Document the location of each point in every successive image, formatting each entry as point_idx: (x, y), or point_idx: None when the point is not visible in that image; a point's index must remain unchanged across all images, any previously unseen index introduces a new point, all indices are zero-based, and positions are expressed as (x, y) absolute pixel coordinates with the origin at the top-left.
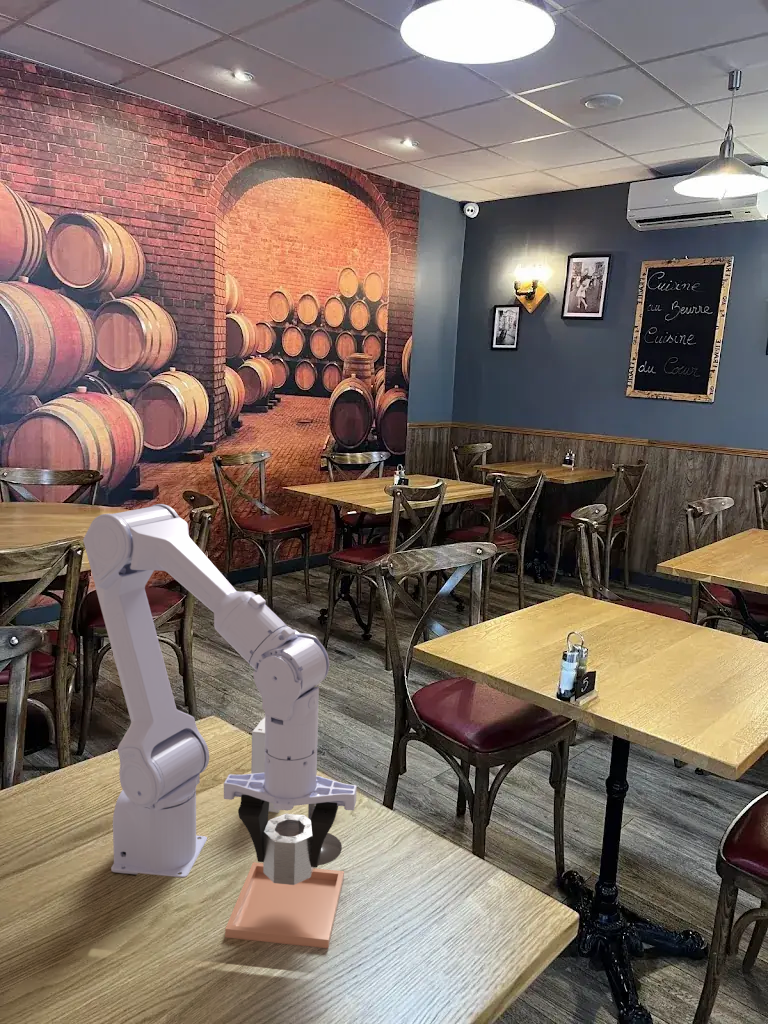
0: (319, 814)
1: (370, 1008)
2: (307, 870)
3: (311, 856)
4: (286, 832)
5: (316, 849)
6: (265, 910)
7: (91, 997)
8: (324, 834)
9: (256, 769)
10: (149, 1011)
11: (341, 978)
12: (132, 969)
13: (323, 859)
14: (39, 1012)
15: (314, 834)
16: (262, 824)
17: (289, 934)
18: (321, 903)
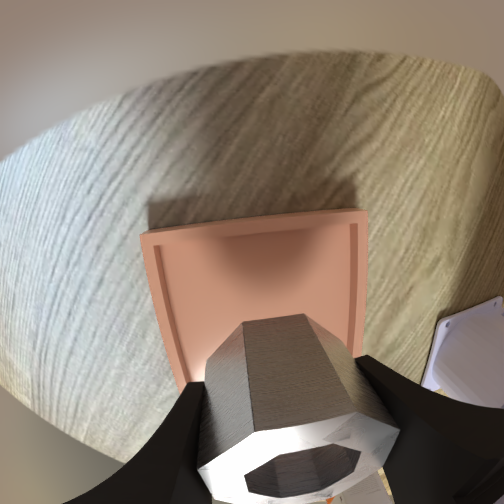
0: None
1: (59, 136)
2: (212, 369)
3: (195, 404)
4: (313, 455)
5: (173, 425)
6: (305, 296)
7: (459, 87)
8: (116, 477)
9: (381, 498)
10: (395, 59)
11: (109, 176)
12: (447, 130)
13: None
14: (480, 73)
15: (164, 479)
16: (417, 448)
17: (227, 227)
18: (201, 341)
